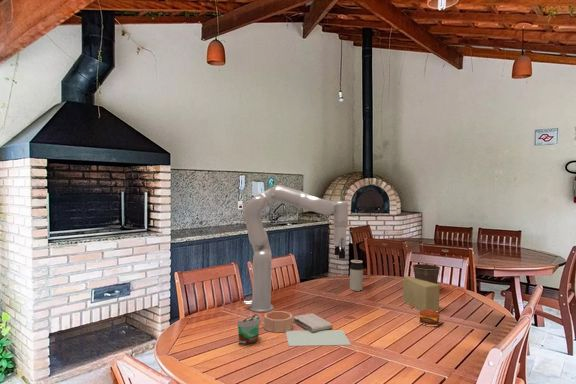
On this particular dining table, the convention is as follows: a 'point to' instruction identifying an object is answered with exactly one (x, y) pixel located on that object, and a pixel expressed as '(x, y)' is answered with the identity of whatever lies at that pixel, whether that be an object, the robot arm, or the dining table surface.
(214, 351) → the dining table surface
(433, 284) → the olive green box
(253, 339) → the food container
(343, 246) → the robot arm
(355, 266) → the travel mug
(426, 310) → the hamburger
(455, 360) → the dining table surface
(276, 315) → the bowl
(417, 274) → the plant pot
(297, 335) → the mat
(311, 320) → the washcloth
